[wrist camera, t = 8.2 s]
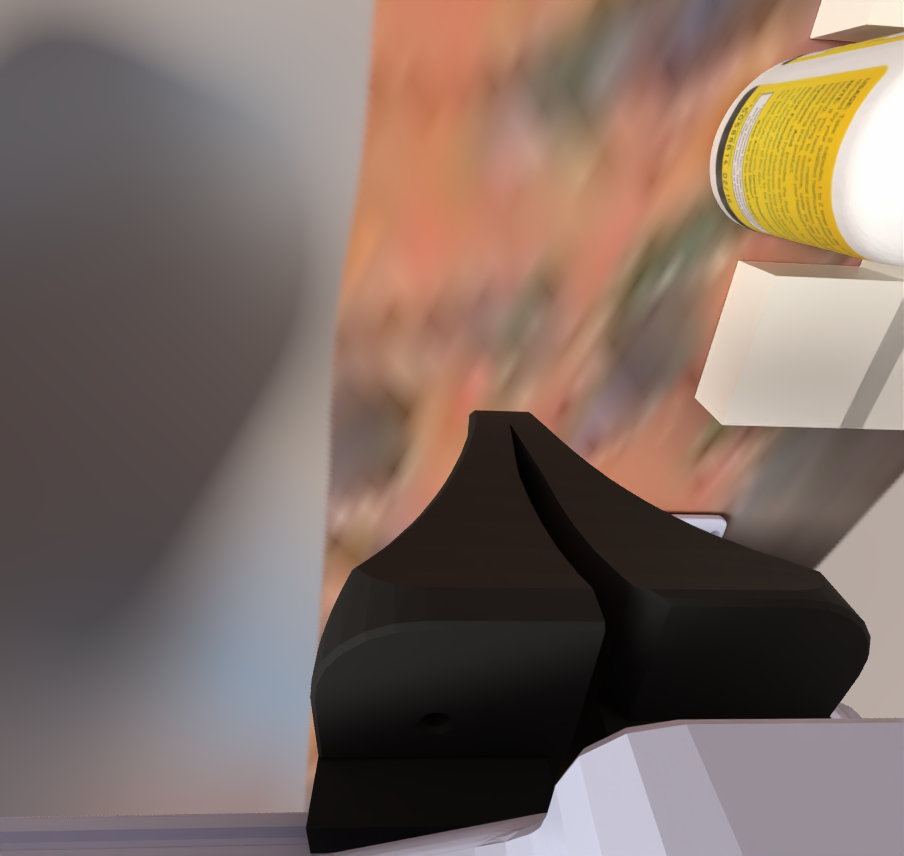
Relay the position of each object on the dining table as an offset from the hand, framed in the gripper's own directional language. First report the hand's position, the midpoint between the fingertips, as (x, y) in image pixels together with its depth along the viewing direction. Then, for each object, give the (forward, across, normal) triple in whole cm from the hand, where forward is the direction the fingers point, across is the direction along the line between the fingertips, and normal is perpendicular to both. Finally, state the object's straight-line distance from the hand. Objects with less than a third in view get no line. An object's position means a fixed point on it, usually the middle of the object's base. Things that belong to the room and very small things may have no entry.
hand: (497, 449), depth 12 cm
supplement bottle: (+11, -11, -6) cm, 16 cm away
